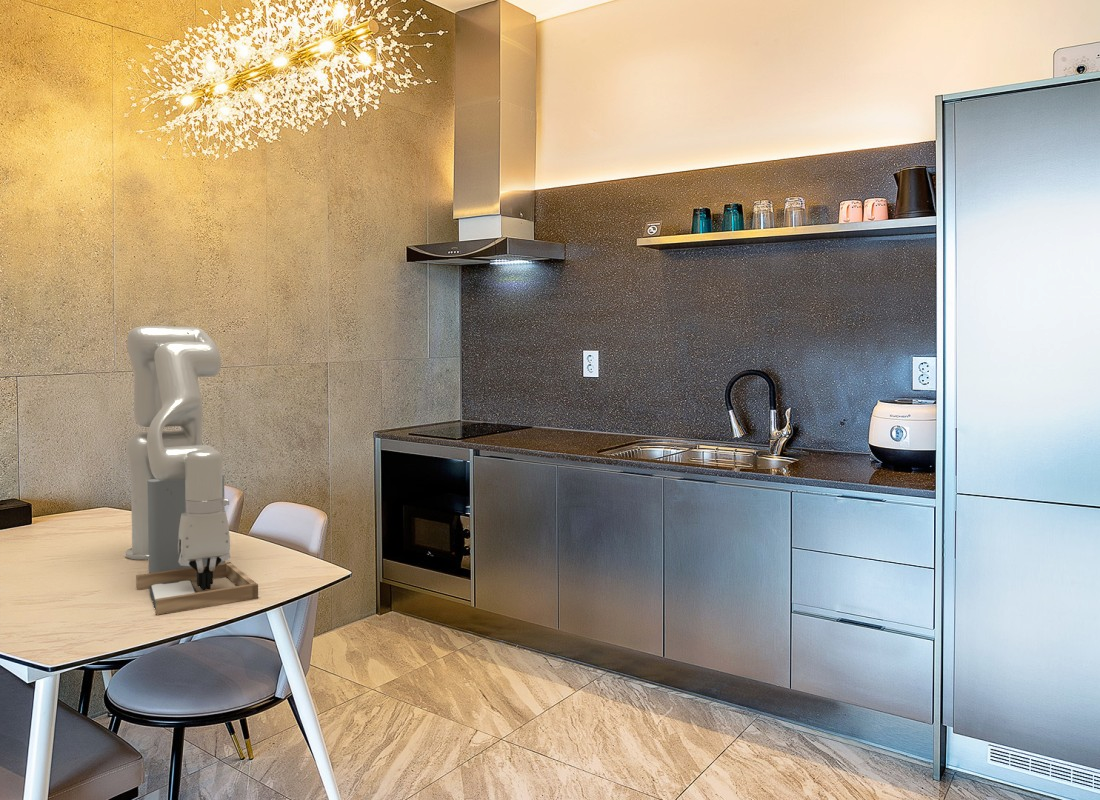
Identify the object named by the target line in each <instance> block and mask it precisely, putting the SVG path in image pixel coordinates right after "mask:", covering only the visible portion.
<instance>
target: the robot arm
mask: <svg viewBox="0 0 1100 800" xmlns="http://www.w3.org/2000/svg"><path fill="white" fill-rule="evenodd" d="M126 349H127V353H128V358H129V360H130V363H131V365H132V368H133V372H134V381H133V382H134V383H133V384H134V385H133V387H134V388H133V389H134V390H133V417H134V419H135V423H136V424H137V425H138V426H140V427H142V428H148V430H147V431H144V432H139V433H136V434H133V435H132V436H130V437H129V439H128V440H127V442H126V444H125V445H126V446H125V451H126V456H127V457H126V458H127V462H128V468H129V475H130V477H129V478H130V496H131V497H130V499H131V500H130V501H131V502H130V503H131V506H130V507H131V547H130V548H128V549H127V550H125V553H124V554H125V558H128V559H132V560H138V561H139V560H140V561H141V560H144V561H145V560H148V561H149V545H148V482H147V480H151V479H158V480H160V481H174V480H185V509H186V513H182V514H181V518H180V525H179V535H178V554H179V555H180V557H179V561H178V564H180V565H181V566H191V567H192V568H194V569H195V570H196V571H197V581H196V585H197V587H199V588H200V589H201V591H210V590H212V587H211V585H213V584H214V578H213V571H214V570H215V567H216V566H217V565H218V564H219V563H220V562H222V561H225V562H226V561H227V560H229V559H231V553H230V551H231V539H230V538H231V537H230V529H229V521H228V516H227V512H226V510H223V509H224V507H225V506H229V505H230V500H229V498H225V497H224V498H223V497H222V474H223V456H222V454H221V452H220V451H218V450H216V449H215V448H214V446H212V445H208V444H207V445H206V444H203V445H202V442H203V441H202V439H203V437H202V434H203V404H202V403H203V398H202V393H201V389H200V384H199V378H200V377H201V378H207V377H210V378H212V377H216V376H217V375H219V373H220V371H221V368H222V357H221V353H220V350H219V348H218V346H217V344H216V343H215V342H214V340H213V339H212V338H211V337H210V335H208V334H207V332H205V330H204V329H202V328H199V327H195V326H169V325H142V326H136V327H133V328H131V330H129V332H128V334H127V337H126ZM169 427H170V428H171V427H172V428H173V427H180V429H179V430H177V429H176V430H164V428H169ZM205 558H207V562H206V567H205V569H203V563H202V559H205Z"/></svg>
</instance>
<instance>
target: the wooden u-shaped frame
mask: <svg viewBox="0 0 1100 800" xmlns="http://www.w3.org/2000/svg"><path fill="white" fill-rule="evenodd" d="M205 567H206V566H203V569H205ZM219 577H220V578H225V577H226V578H227V577H228V579H229V580H230V581H231V582H232V583H233V584H234V583H235V584H234V585H235V586H230V587H223V588H217V589H210V590H202V591H199V592H197V591H196V593H191V594H184V595H178V596H172V597H165V598H159V599H155V609H154V611H155V613H156V614H161V615H165V614H164V613H167V614H171V613H170V612H173V613H177V612H176V611H179V612H183V611H184V610H185V611H190V610H195V609H196V608H197V609H202V608H201V607H203V608H208V607H207V606H209V607H213V606H219V605H225V604H231V603H237V602H243V601H244V602H245V601H249V600H255V599H259V584H258V583H257V582H256V581H255V580H253V579H252V578H251V577H249V576H248V575H247V574H246V573H244V572H243V571H242V570H241V569H239V568H238V567H237V566H236V565H234V564H233V563H232V562H230V561H228V562H225V563H220V564H218V565H217V566H216V567H215V570H214V571H213V579H218V578H219ZM135 579H136V580H135V583H136V584H135V586H136V587H135V589H136V588H137V589H139V590H144V589H143V588H146V589H150V586H151V585H153V584H160V583H169V582H177V581H186V580H189V581H192V583H193V582H197V571H196V570H195V569H194V568H192V567H191V568H184V569H177V570H170V571H163V572H155V573H149V572H148V573H143V574H136V575H135ZM137 589H136V590H137ZM156 614H155V615H156Z"/></svg>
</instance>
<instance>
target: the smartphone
mask: <svg viewBox="0 0 1100 800" xmlns="http://www.w3.org/2000/svg"><path fill="white" fill-rule="evenodd" d="M191 593H197V590H196V588H195V586H194V583H193V582H192V581H189V580H186V581H177V582H169V583H160V584H153V585H151V586H150V588H149V595H150V598H151V601H153V602H152V606H153V605H154V606H153V609H154V608H155V599H159V598H165V597H172V596H178V595H184V594H191Z"/></svg>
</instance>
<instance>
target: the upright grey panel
mask: <svg viewBox="0 0 1100 800" xmlns="http://www.w3.org/2000/svg"><path fill="white" fill-rule="evenodd" d="M147 482H148V545H149V560H148V573H155V572H163V571H170V570H177V569H184V568H191V566H181V565H180V564H178V561H179V557H180V555H179V554H178V535H179V525H180V518H181V514H182V513H186V509H185V480H174V481H160V480H158V479H151V480H147ZM222 497H223V498H224V499H225V474H224V473H222ZM225 509H226V508H225V506H224V509H223V510H225ZM225 511H226V510H225ZM206 562H207V558H205V559H202V563H203V566H206ZM220 563H226V560H225V561H222V562H220ZM220 563H219V564H220Z"/></svg>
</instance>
